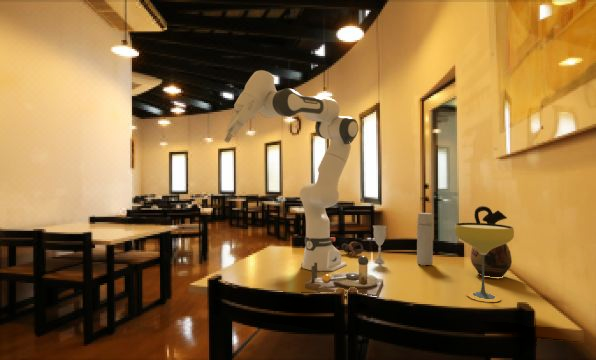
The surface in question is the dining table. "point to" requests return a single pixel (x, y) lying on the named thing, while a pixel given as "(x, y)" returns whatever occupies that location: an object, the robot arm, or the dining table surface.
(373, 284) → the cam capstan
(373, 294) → the stand
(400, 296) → the dining table surface
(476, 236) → the cocktail glass
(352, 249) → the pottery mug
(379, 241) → the chalice
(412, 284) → the dining table surface
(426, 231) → the water bottle
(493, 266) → the ceramic jug
